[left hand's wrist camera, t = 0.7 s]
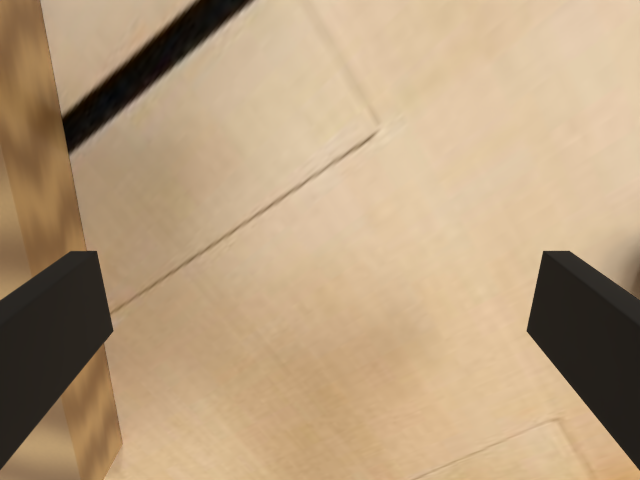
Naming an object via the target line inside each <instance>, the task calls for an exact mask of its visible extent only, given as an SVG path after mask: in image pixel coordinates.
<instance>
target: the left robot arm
mask: <svg viewBox="0 0 640 480" xmlns="http://www.w3.org/2000/svg"><path fill="white" fill-rule="evenodd" d="M112 332H113V327H112V322H111V317H110V312H109V308H108V303H107V298H106V293H105V288H104V284H103V279H102V274H101V269H100V264H99V260H98V255H97V251H70V252H68V253H67V254H66V255H64V256H63V257H61V258H60V259H58V260H57V261H56V262H54V263H53V264H51V265H50V266H48V267H47V268H46V269H44V270H43V271H41V272H40V273H38V274H37V275H36V276H34V277H33V278H31V279H30V280H28V281H27V282H26V283H24V284H23V285H21V286H20V287H18V288H17V289H16V290H14V291H13V292H11V293H10V294H8V295H7V296H6V297H4V298H3V299H1V300H0V470H1V469H2V468H3V466H4V465H5V464H6V463H7V462H8V460H9V459H10V458H11V457H12V455H13V454H14V453H15V452H16V450H17V449H18V448H19V447H20V446H21V444H22V443H23V442H24V441H25V439H26V438H27V437H28V436H29V434H30V433H31V432H32V431H33V429H34V428H35V427H36V426H37V425H38V423H39V422H40V421H41V420H42V418H43V417H44V416H45V415H46V413H47V412H48V411H49V410H50V409H51V407H52V406H53V405H54V404H55V402H56V401H57V400H58V399H59V397H60V396H61V395H62V394H63V393H64V391H65V390H66V389H67V388H68V386H69V385H70V384H71V383H72V381H73V380H74V379H75V378H76V377H77V375H78V374H79V373H80V372H81V370H82V369H83V368H84V367H85V365H86V364H87V363H88V362H89V361H90V359H91V358H92V357H93V356H94V354H95V353H96V352H97V351H98V349H99V348H100V347H101V346H102V344H103V343H104V342H105V341H106V340H107V338H108V337H109V336H110V335H111V333H112ZM527 332H528V333H529V335H530V336H531V337H532V338H533V340H534V341H535V342H536V343H537V344H538V346H539V347H540V348H541V349H542V351H543V352H544V353H545V354H546V356H547V357H548V358H549V359H550V361H551V362H552V363H553V364H554V365H555V367H556V368H557V369H558V370H559V372H560V373H561V374H562V375H563V377H564V378H565V379H566V380H567V381H568V383H569V384H570V385H571V386H572V388H573V389H574V390H575V391H576V393H577V394H578V395H579V396H580V397H581V399H582V400H583V401H584V402H585V404H586V405H587V406H588V407H589V409H590V410H591V411H592V412H593V413H594V415H595V416H596V417H597V418H598V420H599V421H600V422H601V423H602V425H603V426H604V427H605V428H606V429H607V431H608V432H609V433H610V434H611V436H612V437H613V438H614V439H615V441H616V442H617V443H618V444H619V446H620V447H621V448H622V449H623V450H624V452H625V453H626V454H627V455H628V457H629V458H630V459H631V460H632V462H633V463H634V464H635V465H636V466H637V468H638V469H639V470H640V300H639V299H637V298H636V297H634V296H633V295H632V294H630V293H629V292H627V291H626V290H624V289H623V288H622V287H620V286H619V285H617V284H616V283H614V282H613V281H612V280H610V279H609V278H607V277H606V276H604V275H603V274H602V273H600V272H599V271H597V270H596V269H594V268H593V267H592V266H590V265H589V264H587V263H586V262H584V261H583V260H582V259H580V258H579V257H577V256H576V255H574V254H573V253H572V252H570V251H543V255H542V260H541V264H540V269H539V274H538V279H537V284H536V288H535V293H534V298H533V303H532V307H531V312H530V317H529V322H528V327H527Z"/></svg>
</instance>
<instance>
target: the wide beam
mask: <svg viewBox="0 0 640 480" xmlns="http://www.w3.org/2000/svg"><path fill="white" fill-rule="evenodd" d="M70 251H86V246H85V241H84V235H83V230H82V225H81V219H80V214H79V209H78V203H77V198H76V192H75V187H74V182H73V176H72V171H71V166H70V160H69V155H68V150H67V144H66V139H65V134H64V128H63V123H62V118H61V112H60V107H59V101H58V96H57V91H56V85H55V80H54V75H53V69H52V64H51V59H50V53H49V48H48V43H47V37H46V32H45V26H44V21H43V16H42V10H41V5H40V0H0V300H1V299H3V298H4V297H6V296H7V295H8V294H10V293H11V292H13V291H14V290H16V289H17V288H18V287H20V286H21V285H23V284H24V283H26V282H27V281H28V280H30V279H31V278H33V277H34V276H36V275H37V274H38V273H40V272H41V271H43V270H44V269H46V268H47V267H48V266H50V265H51V264H53V263H54V262H56V261H57V260H58V259H60V258H61V257H63V256H64V255H66V254H67V253H68V252H70ZM121 446H122V439H121V433H120V428H119V423H118V417H117V412H116V407H115V401H114V396H113V391H112V385H111V380H110V374H109V369H108V364H107V358H106V353H105V348H104V343H103V344H102V346H101V347H100V348H99V349H98V351H97V352H96V353H95V354H94V356H93V357H92V358H91V359H90V361H89V362H88V363H87V364H86V365H85V367H84V368H83V369H82V370H81V372H80V373H79V374H78V375H77V377H76V378H75V379H74V380H73V381H72V383H71V384H70V385H69V386H68V388H67V389H66V390H65V391H64V393H63V394H62V395H61V396H60V397H59V399H58V400H57V401H56V402H55V404H54V405H53V406H52V407H51V409H50V410H49V411H48V412H47V413H46V415H45V416H44V417H43V418H42V420H41V421H40V422H39V423H38V425H37V426H36V427H35V428H34V429H33V431H32V432H31V433H30V434H29V436H28V437H27V438H26V439H25V441H24V442H23V443H22V444H21V446H20V447H19V448H18V449H17V450H16V452H15V453H14V454H13V455H12V457H11V458H10V459H9V460H8V462H7V463H6V464H5V465H4V466H3V468H2V469H1V470H0V480H103V479H104V477H105V476H106V474H107V472H108V470H109V468H110V466H111V464H112V463H113V461H114V459H115V457H116V455H117V453H118V451H119V450H120V448H121Z"/></svg>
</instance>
